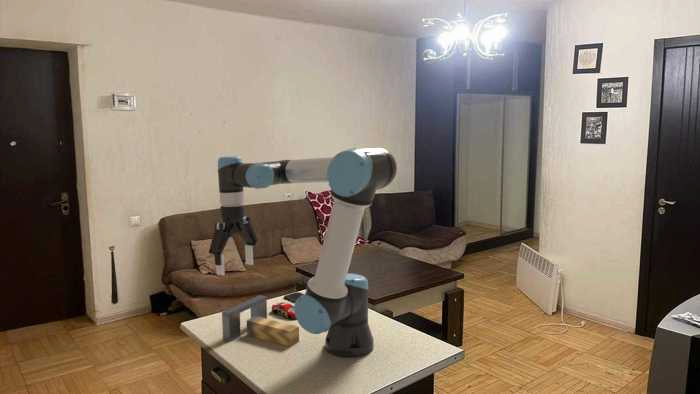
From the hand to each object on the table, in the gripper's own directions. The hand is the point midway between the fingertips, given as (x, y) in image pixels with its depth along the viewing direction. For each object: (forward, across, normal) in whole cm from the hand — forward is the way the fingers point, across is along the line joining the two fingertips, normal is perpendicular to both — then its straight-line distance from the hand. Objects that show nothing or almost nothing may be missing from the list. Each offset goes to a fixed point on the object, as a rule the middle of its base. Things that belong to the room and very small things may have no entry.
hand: (235, 269), depth 169 cm
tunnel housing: (+22, -4, 0) cm, 23 cm away
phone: (+23, -38, -2) cm, 44 cm away
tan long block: (+23, -4, +11) cm, 25 cm away
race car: (+23, -23, +2) cm, 32 cm away
